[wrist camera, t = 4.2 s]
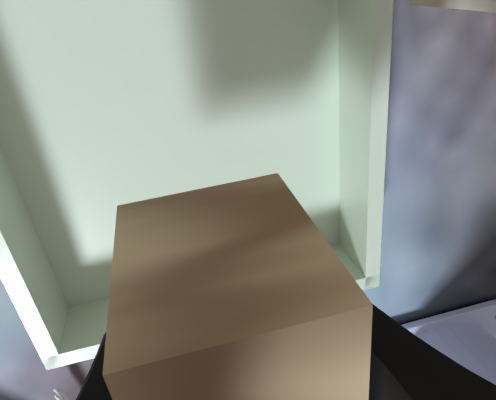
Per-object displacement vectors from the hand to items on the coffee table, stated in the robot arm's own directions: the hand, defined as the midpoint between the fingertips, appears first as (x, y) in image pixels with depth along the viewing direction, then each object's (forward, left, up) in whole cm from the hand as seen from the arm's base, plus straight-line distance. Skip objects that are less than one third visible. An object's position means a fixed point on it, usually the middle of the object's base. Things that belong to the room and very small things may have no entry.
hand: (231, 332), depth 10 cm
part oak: (+1, 0, -2) cm, 2 cm away
